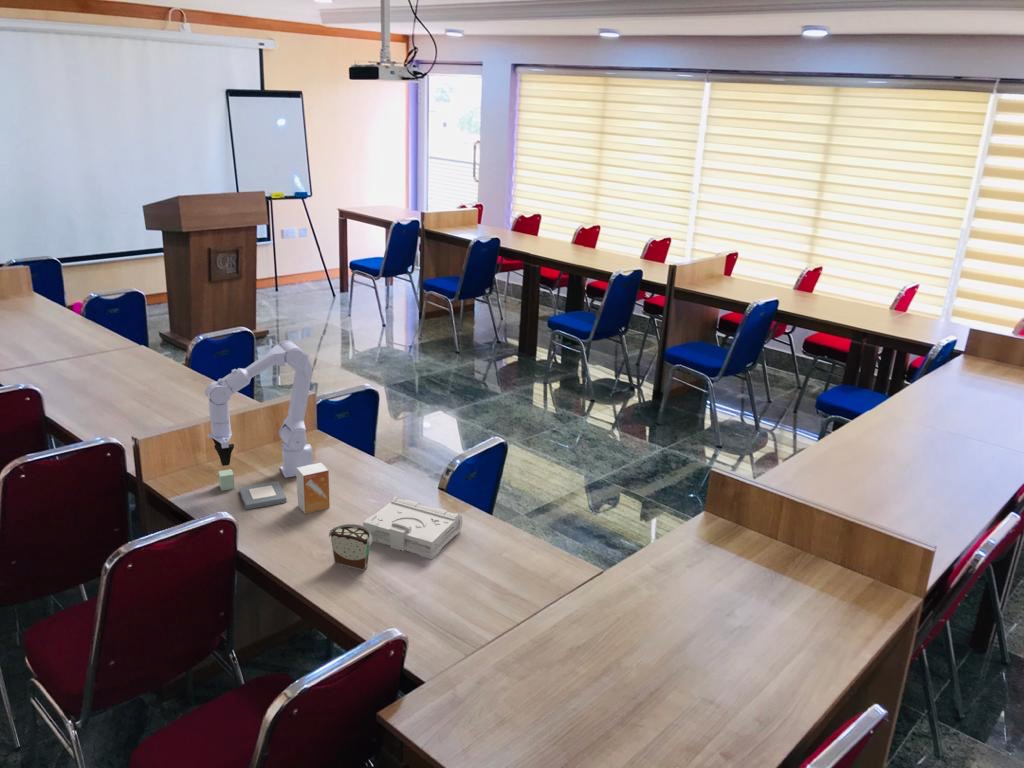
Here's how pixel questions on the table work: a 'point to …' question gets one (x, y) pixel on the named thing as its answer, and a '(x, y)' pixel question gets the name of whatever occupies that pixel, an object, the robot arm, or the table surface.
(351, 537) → the food container
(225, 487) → the sage block
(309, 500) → the small box
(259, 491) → the slate base
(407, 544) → the book
